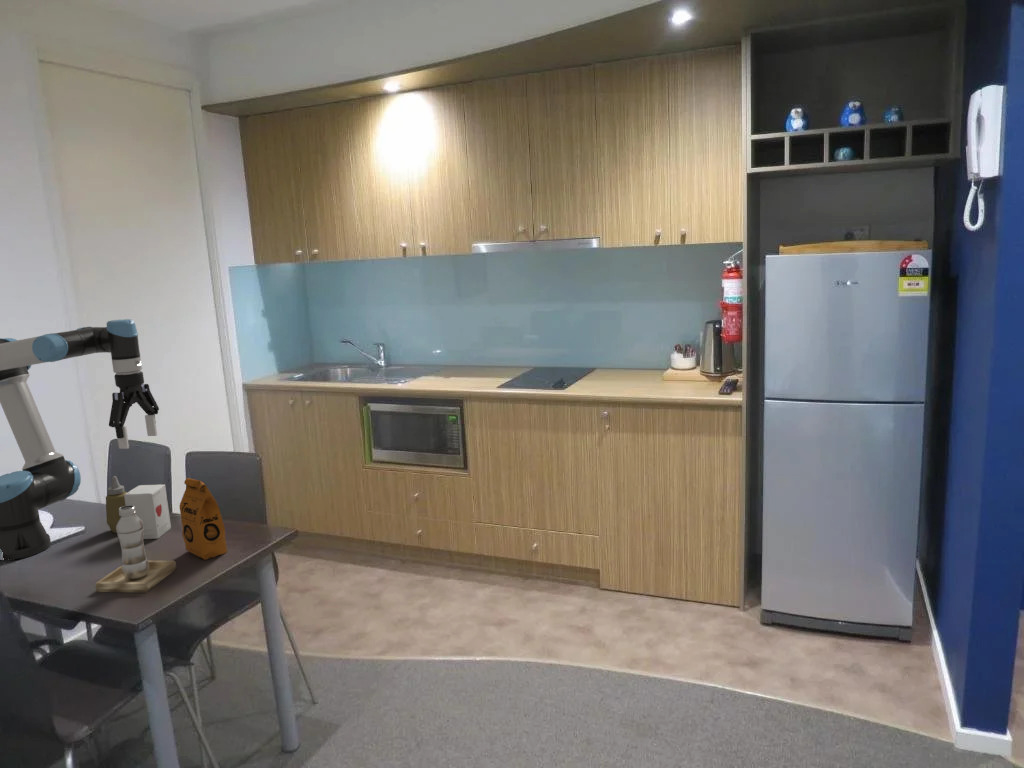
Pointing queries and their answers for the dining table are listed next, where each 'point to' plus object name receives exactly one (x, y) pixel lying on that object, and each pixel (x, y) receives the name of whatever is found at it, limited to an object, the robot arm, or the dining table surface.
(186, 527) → the coffee package
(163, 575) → the bamboo tray
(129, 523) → the plastic bottle
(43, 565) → the dining table surface
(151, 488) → the supplement box
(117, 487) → the squeeze bottle
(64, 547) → the dining table surface
